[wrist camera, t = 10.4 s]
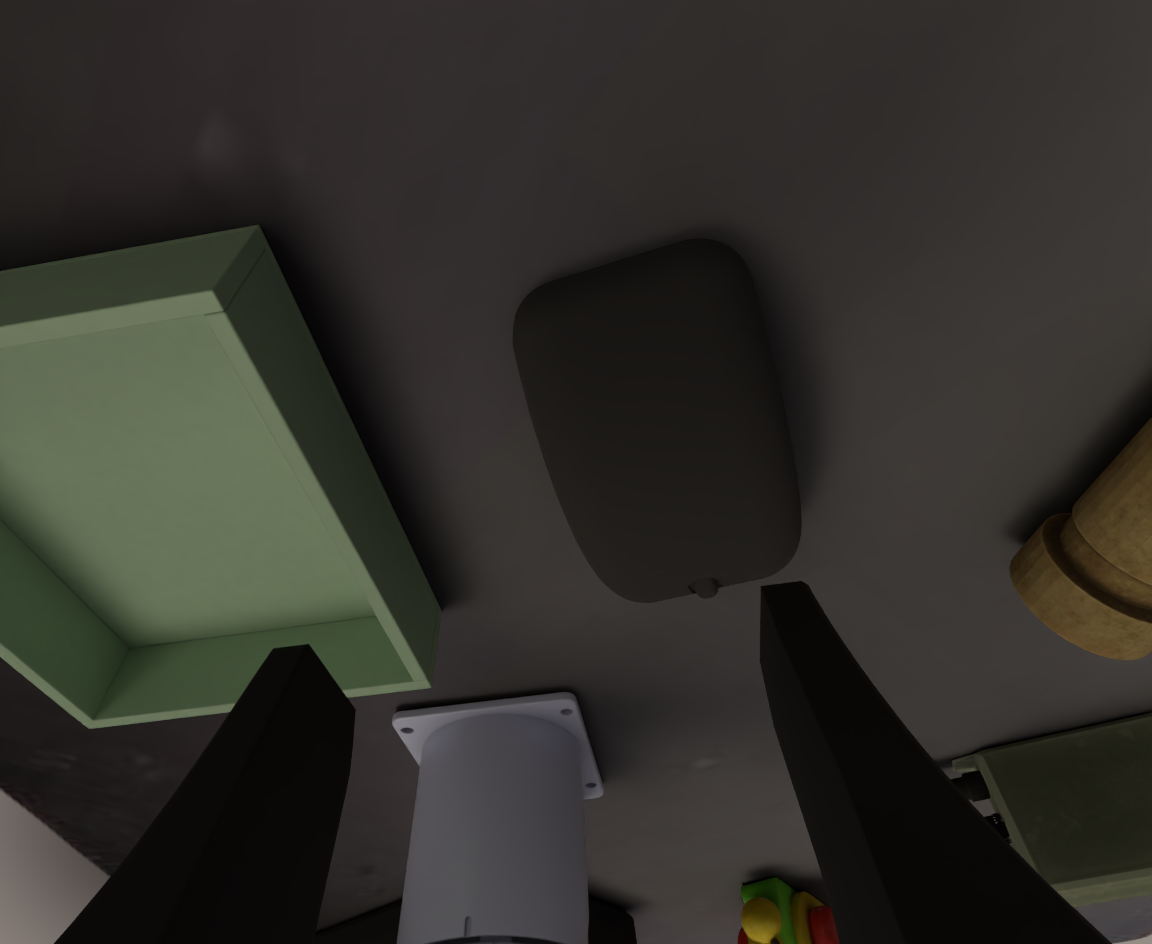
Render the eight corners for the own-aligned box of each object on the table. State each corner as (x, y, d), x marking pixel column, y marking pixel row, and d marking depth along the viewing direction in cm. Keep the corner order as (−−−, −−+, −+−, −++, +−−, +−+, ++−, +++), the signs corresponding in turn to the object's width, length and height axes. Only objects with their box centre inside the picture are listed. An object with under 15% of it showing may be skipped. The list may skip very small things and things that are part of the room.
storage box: (442, 611, 27) (432, 688, 24) (127, 652, 28) (88, 729, 26) (258, 223, 17) (213, 290, 15) (-219, 309, 18) (-336, 384, 16)
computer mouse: (614, 571, 26) (623, 670, 23) (494, 299, 18) (485, 392, 15) (794, 530, 24) (828, 628, 22) (741, 222, 17) (783, 306, 14)
